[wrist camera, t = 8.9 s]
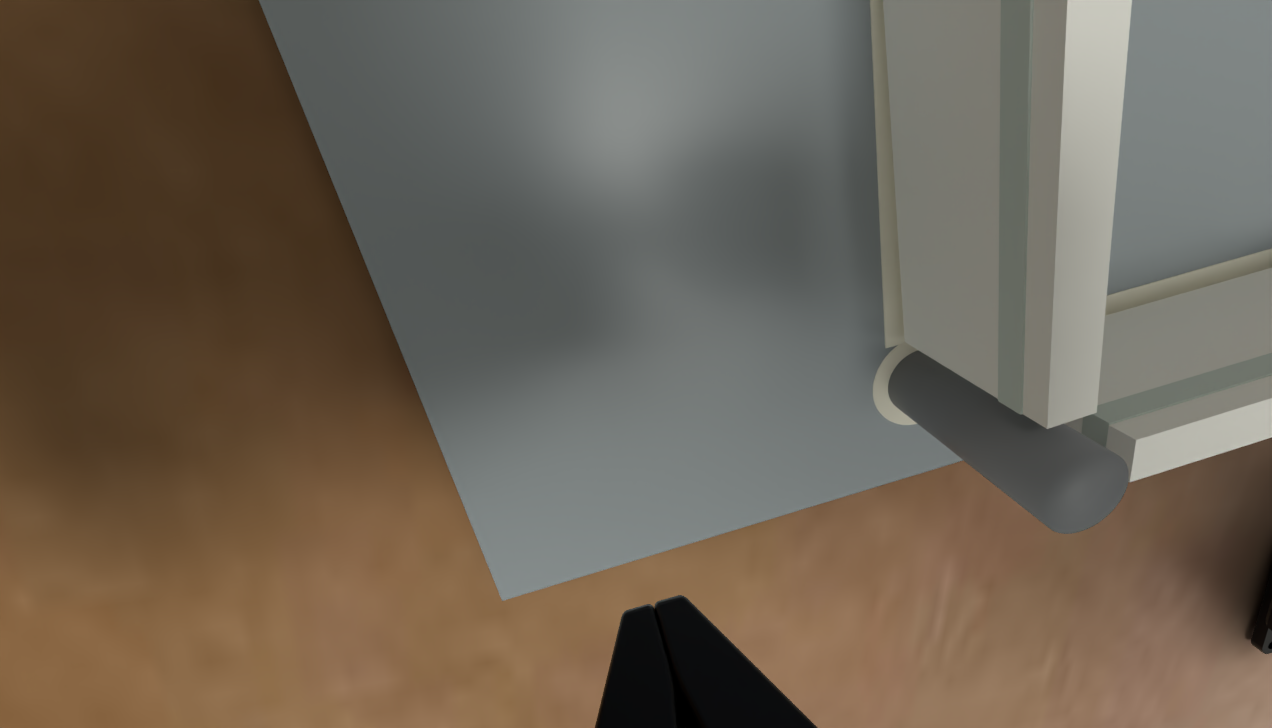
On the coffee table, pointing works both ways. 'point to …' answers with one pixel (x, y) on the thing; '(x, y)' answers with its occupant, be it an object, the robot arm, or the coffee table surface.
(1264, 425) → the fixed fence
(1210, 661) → the coffee table surface
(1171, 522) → the coffee table surface
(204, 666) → the coffee table surface
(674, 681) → the robot arm
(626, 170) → the mat
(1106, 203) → the swing panel
